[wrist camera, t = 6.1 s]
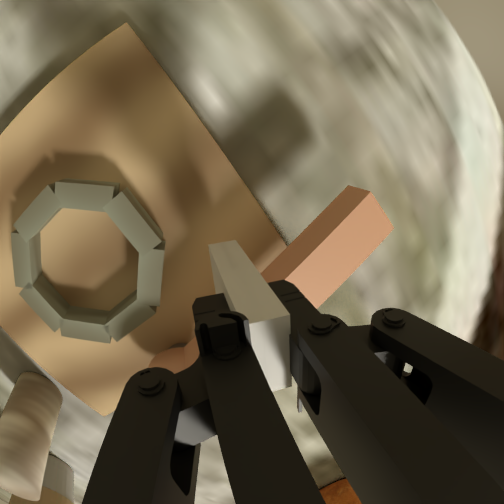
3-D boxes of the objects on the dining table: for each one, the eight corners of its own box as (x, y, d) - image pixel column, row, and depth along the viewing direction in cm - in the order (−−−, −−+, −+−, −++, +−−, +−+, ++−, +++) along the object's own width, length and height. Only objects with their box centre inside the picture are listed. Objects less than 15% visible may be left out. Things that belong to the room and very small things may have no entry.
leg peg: (11, 383, 17) (-24, 470, 8) (31, 363, 17) (-9, 462, 8) (47, 414, 19) (26, 502, 10) (71, 398, 19) (50, 498, 10)
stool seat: (-49, 229, 13) (-78, 244, 9) (131, 34, 12) (121, 10, 9) (106, 398, 20) (101, 432, 17) (297, 268, 20) (321, 293, 16)
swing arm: (187, 406, 17) (191, 439, 14) (134, 376, 15) (130, 410, 13) (378, 228, 16) (409, 243, 13) (339, 173, 14) (370, 180, 12)
